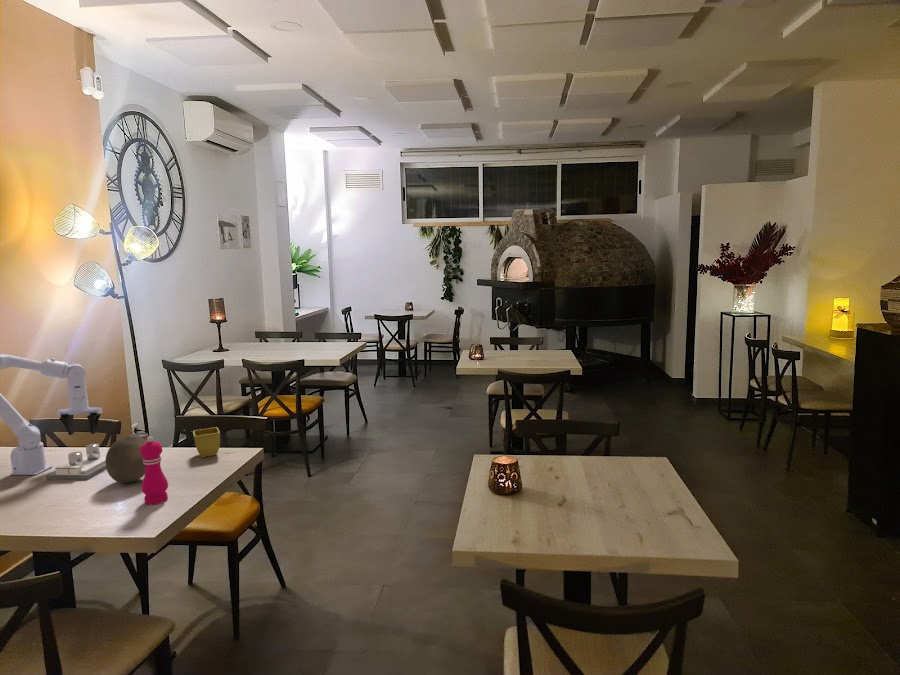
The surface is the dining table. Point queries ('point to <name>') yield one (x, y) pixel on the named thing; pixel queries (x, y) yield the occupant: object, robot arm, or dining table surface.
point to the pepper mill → (153, 473)
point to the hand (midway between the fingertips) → (82, 433)
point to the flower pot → (207, 441)
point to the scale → (79, 470)
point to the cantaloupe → (126, 459)
